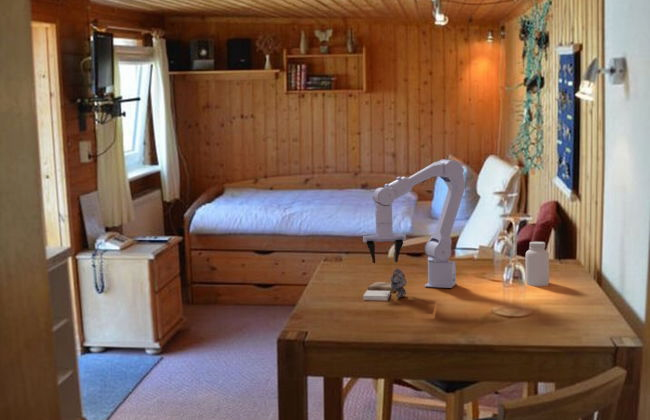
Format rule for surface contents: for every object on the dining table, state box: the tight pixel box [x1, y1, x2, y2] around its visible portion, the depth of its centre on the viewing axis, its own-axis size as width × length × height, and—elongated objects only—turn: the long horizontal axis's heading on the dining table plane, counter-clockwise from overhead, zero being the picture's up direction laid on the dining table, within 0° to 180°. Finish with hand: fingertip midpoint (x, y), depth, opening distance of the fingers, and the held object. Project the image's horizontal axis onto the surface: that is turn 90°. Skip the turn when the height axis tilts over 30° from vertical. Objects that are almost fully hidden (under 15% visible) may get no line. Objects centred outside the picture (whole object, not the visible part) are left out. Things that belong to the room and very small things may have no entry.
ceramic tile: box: [362, 289, 391, 302], centre depth 266 cm, size 8×8×2 cm
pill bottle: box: [525, 241, 550, 287], centre depth 277 cm, size 8×8×15 cm
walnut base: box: [367, 281, 397, 294], centre depth 276 cm, size 9×9×2 cm
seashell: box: [390, 268, 408, 299], centre depth 264 cm, size 5×5×10 cm
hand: (385, 262), depth 272 cm, fingers open, 7 cm apart
